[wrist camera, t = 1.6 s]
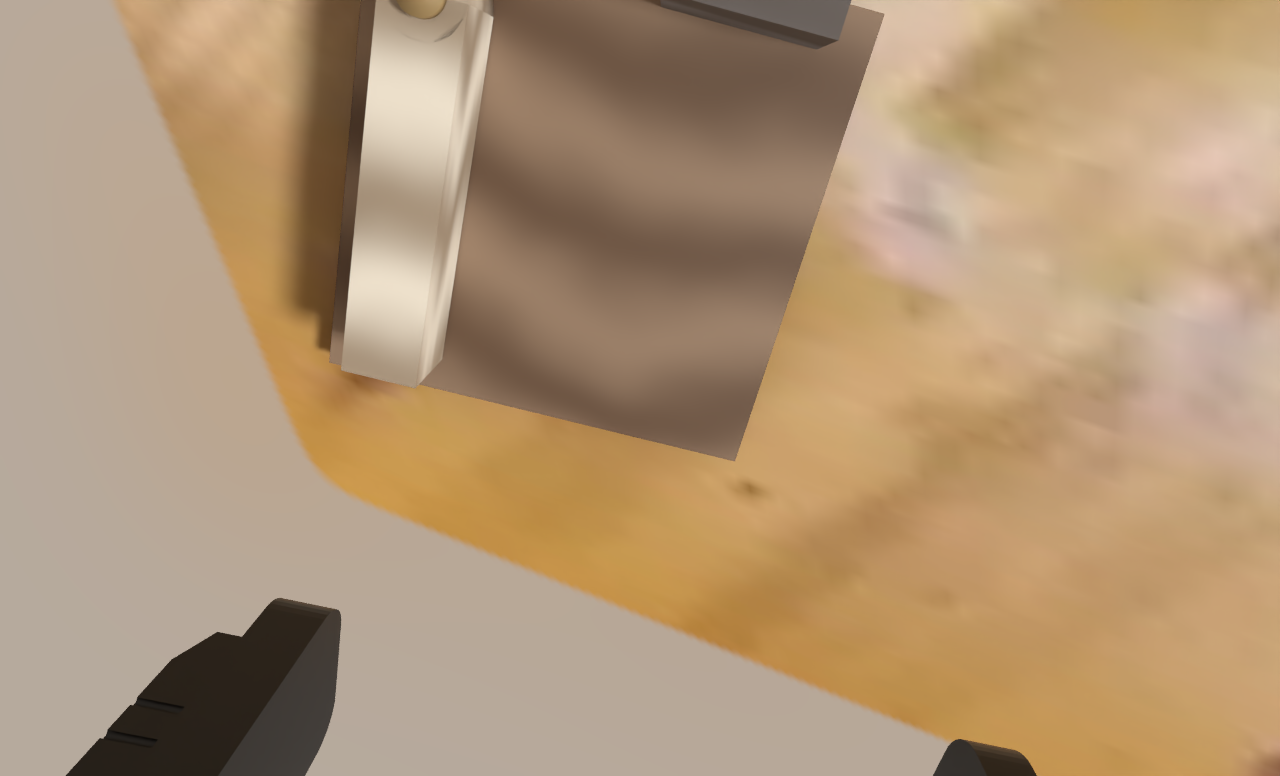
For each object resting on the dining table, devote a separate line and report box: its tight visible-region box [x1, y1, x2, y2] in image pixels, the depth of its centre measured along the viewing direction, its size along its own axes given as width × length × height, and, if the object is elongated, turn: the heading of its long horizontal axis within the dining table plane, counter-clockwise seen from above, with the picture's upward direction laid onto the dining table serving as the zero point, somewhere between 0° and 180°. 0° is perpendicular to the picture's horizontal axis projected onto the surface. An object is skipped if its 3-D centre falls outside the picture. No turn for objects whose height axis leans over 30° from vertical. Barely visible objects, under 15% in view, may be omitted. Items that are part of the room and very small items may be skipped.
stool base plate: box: [329, 0, 884, 461], centre depth 28 cm, size 19×19×5 cm
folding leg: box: [341, 0, 494, 388], centre depth 27 cm, size 16×3×4 cm, turn 166°
